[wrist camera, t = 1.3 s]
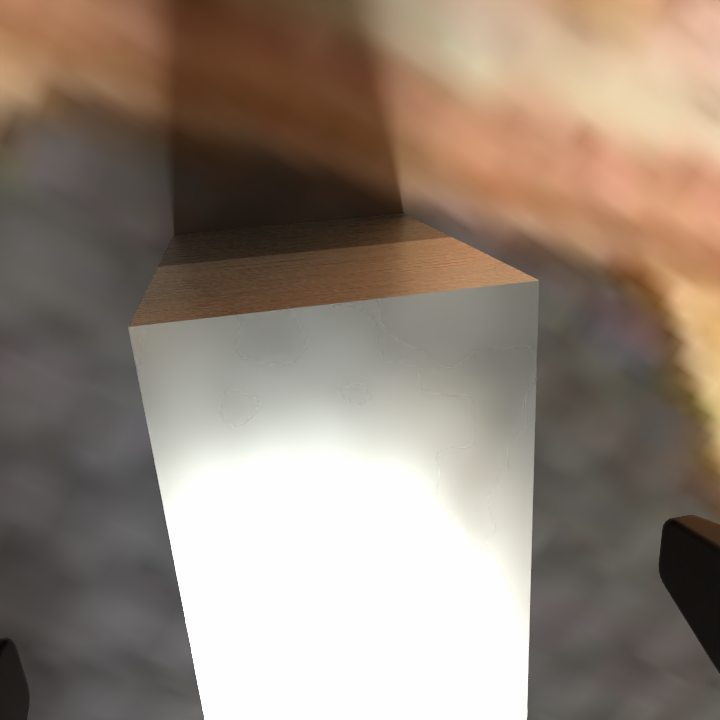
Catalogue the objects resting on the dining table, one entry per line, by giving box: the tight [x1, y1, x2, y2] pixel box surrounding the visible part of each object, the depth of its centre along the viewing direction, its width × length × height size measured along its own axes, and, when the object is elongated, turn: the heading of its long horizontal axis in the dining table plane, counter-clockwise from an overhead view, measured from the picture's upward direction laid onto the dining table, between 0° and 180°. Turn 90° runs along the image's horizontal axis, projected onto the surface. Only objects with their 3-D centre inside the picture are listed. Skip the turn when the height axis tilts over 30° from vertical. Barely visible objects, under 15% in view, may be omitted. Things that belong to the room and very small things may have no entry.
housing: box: [128, 213, 539, 720], centre depth 13 cm, size 8×5×7 cm, turn 3°
